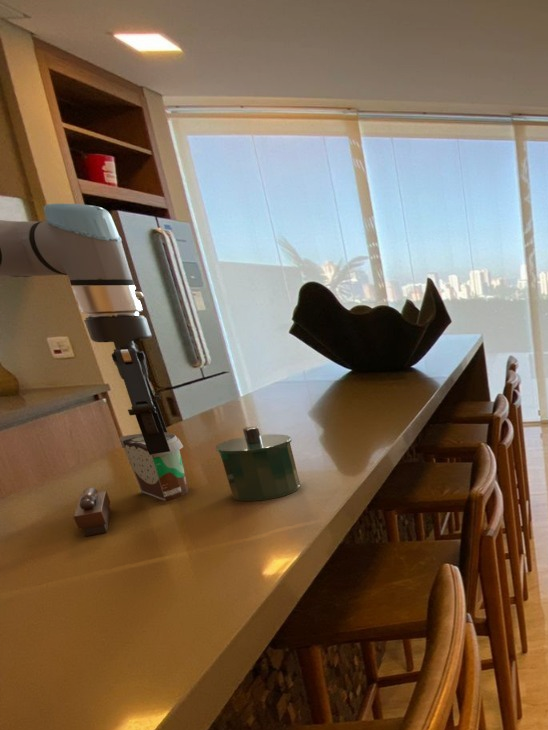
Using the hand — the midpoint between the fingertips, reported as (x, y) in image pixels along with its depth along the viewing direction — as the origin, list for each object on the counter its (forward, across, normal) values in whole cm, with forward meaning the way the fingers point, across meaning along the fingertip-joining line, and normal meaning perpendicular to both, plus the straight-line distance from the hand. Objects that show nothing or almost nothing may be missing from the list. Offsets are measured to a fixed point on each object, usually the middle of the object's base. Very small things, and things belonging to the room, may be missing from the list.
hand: (159, 444), depth 97 cm
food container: (+9, 0, 0) cm, 9 cm away
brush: (+9, -11, +10) cm, 17 cm away
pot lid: (0, -11, -13) cm, 17 cm away
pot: (+9, -11, -13) cm, 19 cm away
